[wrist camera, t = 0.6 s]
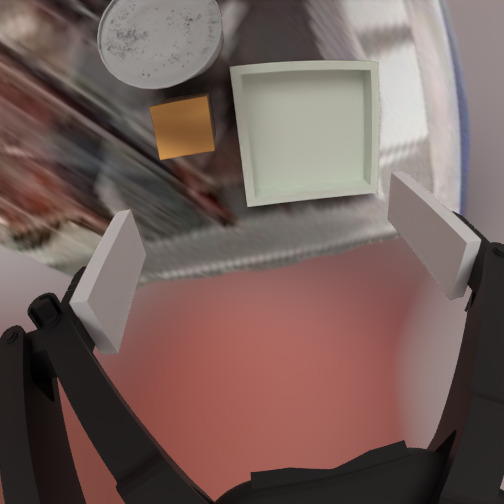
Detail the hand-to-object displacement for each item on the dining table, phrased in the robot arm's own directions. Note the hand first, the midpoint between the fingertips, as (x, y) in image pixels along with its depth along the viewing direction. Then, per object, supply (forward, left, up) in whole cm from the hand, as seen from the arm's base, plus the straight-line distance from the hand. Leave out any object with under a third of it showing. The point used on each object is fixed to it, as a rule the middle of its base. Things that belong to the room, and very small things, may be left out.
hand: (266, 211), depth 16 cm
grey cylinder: (-11, -6, -23) cm, 26 cm away
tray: (+1, +7, -23) cm, 24 cm away
